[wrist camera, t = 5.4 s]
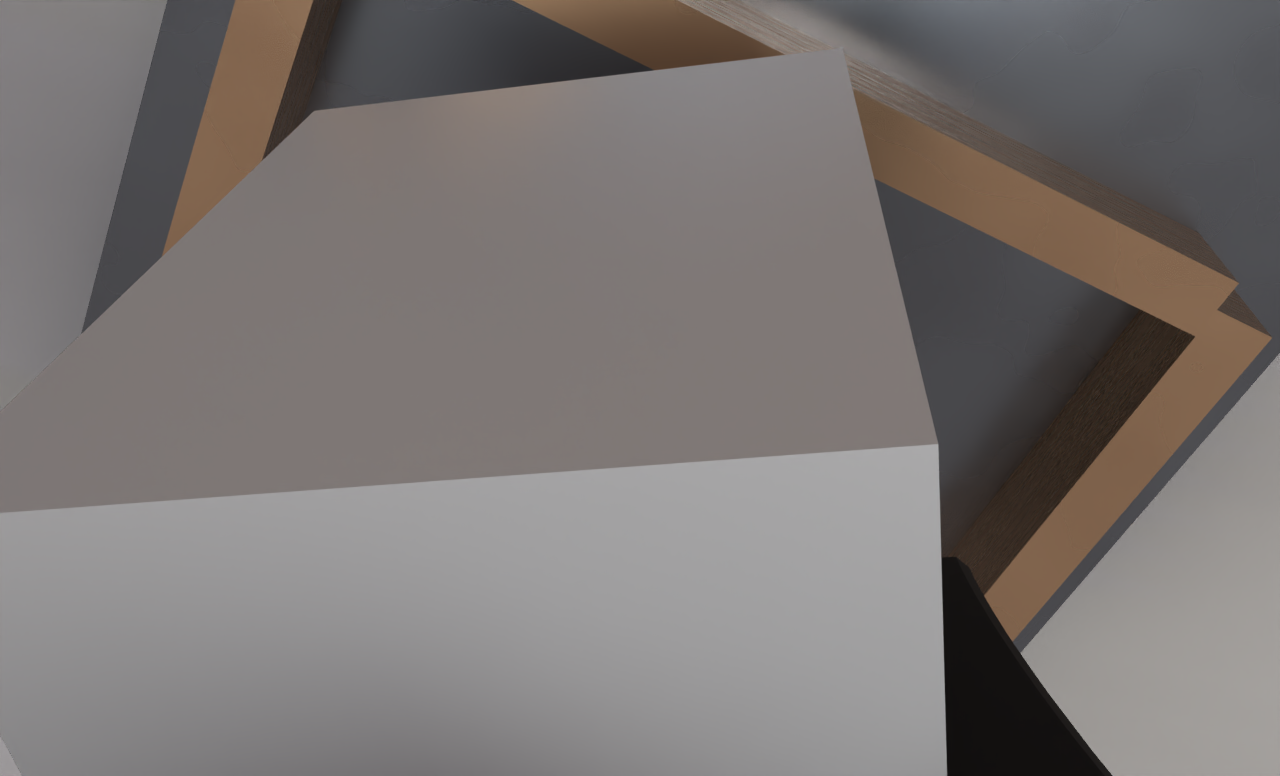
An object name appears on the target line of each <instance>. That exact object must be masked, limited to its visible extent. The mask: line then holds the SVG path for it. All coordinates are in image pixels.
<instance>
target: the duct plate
mask: <svg viewBox="0 0 1280 776" xmlns="http://www.w3.org/2000/svg"><path fill="white" fill-rule="evenodd" d="M839 48H843V52H844V56H845V60H846V64H847V68H848V73H849V77H850V81H851V85H852V89H853V93H854V97H855V102H856V106H857V110H858V114H859V118H860V122H861V126H862V130H863V135H864V139H865V143H866V147H867V151H868V155H869V159H870V164H871V168H872V172H873V176H874V180H875V184H876V188H877V193H878V197H879V201H880V205H881V209H882V213H883V217H884V222H885V226H886V230H887V234H888V238H889V242H890V246H891V250H892V255H893V259H894V263H895V267H896V271H897V275H898V279H899V284H900V288H901V292H902V296H903V300H904V304H905V308H906V313H907V317H908V321H909V325H910V329H911V333H912V337H913V341H914V346H915V350H916V354H917V358H918V362H919V366H920V370H921V375H922V379H923V383H924V387H925V391H926V395H927V399H928V404H929V408H930V412H931V416H932V420H933V424H934V428H935V433H936V437H937V441H938V452H939V490H940V528H941V557H957V558H958V559H959V560H961V561H962V562H963V563H964V564H966V565H967V566H968V567H969V568H970V570H971V572H972V574H973V576H974V578H975V580H976V582H977V584H978V586H979V587H980V589H981V591H982V593H983V595H984V596H985V598H986V600H987V602H988V603H989V605H990V607H991V608H992V610H993V612H994V613H995V615H996V617H997V618H998V620H999V621H1000V623H1001V625H1002V626H1003V628H1004V629H1005V631H1006V633H1007V634H1008V636H1009V637H1010V639H1011V640H1012V642H1013V643H1014V645H1015V646H1016V648H1017V649H1018V651H1019V652H1020V653H1021V651H1022V650H1023V649H1024V648H1025V647H1026V646H1027V644H1028V643H1029V642H1030V641H1031V640H1032V639H1033V637H1034V636H1035V635H1036V634H1037V633H1038V632H1039V631H1040V629H1041V628H1042V627H1043V626H1044V625H1045V624H1046V622H1047V621H1048V620H1049V619H1050V618H1051V617H1052V615H1053V614H1054V613H1055V612H1056V611H1057V610H1058V609H1059V607H1060V606H1061V605H1062V604H1063V603H1064V602H1065V600H1066V599H1067V598H1068V597H1069V596H1070V595H1071V594H1072V592H1073V591H1074V590H1075V589H1076V588H1077V587H1078V585H1079V584H1080V583H1081V582H1082V581H1083V580H1084V578H1085V577H1086V576H1087V575H1088V574H1089V573H1090V572H1091V570H1092V569H1093V568H1094V567H1095V566H1096V565H1097V563H1098V562H1099V561H1100V560H1101V559H1102V558H1103V557H1104V555H1105V554H1106V553H1107V552H1108V551H1109V550H1110V548H1111V547H1112V546H1113V545H1114V544H1115V543H1116V541H1117V540H1118V539H1119V538H1120V537H1121V536H1122V535H1123V533H1124V532H1125V531H1126V530H1127V529H1128V528H1129V526H1130V525H1131V524H1132V523H1133V522H1134V521H1135V520H1136V518H1137V517H1138V516H1139V515H1140V514H1141V513H1142V511H1143V510H1144V509H1145V508H1146V507H1147V506H1148V504H1149V503H1150V502H1151V501H1152V500H1153V499H1154V498H1155V496H1156V495H1157V494H1158V493H1159V492H1160V491H1161V489H1162V488H1163V487H1164V486H1165V485H1166V484H1167V483H1168V481H1169V480H1170V479H1171V478H1172V477H1173V476H1174V474H1175V473H1176V472H1177V471H1178V470H1179V469H1180V467H1181V466H1182V465H1183V464H1184V463H1185V462H1186V461H1187V459H1188V458H1189V457H1190V456H1191V455H1192V454H1193V452H1194V451H1195V450H1196V449H1197V448H1198V447H1199V445H1200V444H1201V443H1202V442H1203V441H1204V440H1205V439H1206V437H1207V436H1208V435H1209V434H1210V433H1211V432H1212V430H1213V429H1214V428H1215V427H1216V426H1217V425H1218V424H1219V422H1220V421H1221V420H1222V419H1223V418H1224V417H1225V415H1226V414H1227V413H1228V412H1229V411H1230V410H1231V408H1232V407H1233V406H1234V405H1235V404H1236V403H1237V402H1238V400H1239V399H1240V398H1241V397H1242V396H1243V395H1244V393H1245V392H1246V391H1247V390H1248V389H1249V388H1250V387H1251V385H1252V384H1253V383H1254V382H1255V381H1256V380H1257V378H1258V377H1259V376H1260V375H1261V374H1262V373H1263V371H1264V370H1265V369H1266V368H1267V367H1268V366H1269V365H1270V363H1271V362H1272V361H1273V360H1274V359H1275V358H1276V356H1277V355H1278V354H1279V353H1280V0H168V1H167V5H166V9H165V12H164V16H163V20H162V24H161V28H160V32H159V36H158V39H157V43H156V47H155V51H154V55H153V59H152V63H151V67H150V70H149V74H148V78H147V82H146V86H145V90H144V94H143V97H142V101H141V105H140V109H139V113H138V117H137V121H136V125H135V128H134V132H133V136H132V140H131V144H130V148H129V152H128V155H127V159H126V163H125V167H124V171H123V175H122V179H121V183H120V186H119V190H118V194H117V198H116V202H115V206H114V210H113V214H112V217H111V221H110V225H109V229H108V233H107V237H106V241H105V244H104V248H103V252H102V256H101V260H100V264H99V268H98V272H97V275H96V279H95V283H94V287H93V291H92V295H91V299H90V302H89V306H88V310H87V314H86V318H85V322H84V326H83V330H82V333H83V332H84V331H85V330H86V329H87V328H88V327H89V326H90V325H91V324H92V323H93V322H94V321H95V320H97V319H98V318H99V317H100V316H101V315H102V314H103V313H104V312H105V311H106V310H107V309H108V308H109V307H110V306H111V305H112V304H113V303H114V302H115V301H116V300H117V299H118V298H119V297H121V296H122V295H123V294H124V293H125V292H126V291H127V290H128V289H129V288H130V287H131V286H132V285H133V284H134V283H135V282H136V281H137V280H138V279H139V278H140V277H141V276H142V275H143V274H145V273H146V272H147V271H148V270H149V269H150V268H151V267H152V266H153V265H154V264H155V263H156V262H157V261H158V260H159V259H160V258H161V257H162V256H163V255H164V254H165V253H166V252H167V251H169V250H170V249H171V248H172V247H173V246H174V245H175V244H176V243H177V242H178V241H179V240H180V239H181V238H182V237H183V236H184V235H185V234H186V233H187V232H188V231H189V230H190V229H191V228H193V227H194V226H195V225H196V224H197V223H198V222H199V221H200V220H201V219H202V218H203V217H204V216H205V215H206V214H207V213H208V212H209V211H210V210H211V209H212V208H213V207H214V206H215V205H217V204H218V203H219V202H220V201H221V200H222V199H223V198H224V197H225V196H226V195H227V194H228V193H229V192H230V191H231V190H232V189H233V188H234V187H235V186H236V185H237V184H238V183H239V182H241V181H242V180H243V179H244V178H245V177H246V176H247V175H248V174H249V173H250V172H251V171H252V170H253V169H254V168H255V167H256V166H257V165H258V164H259V163H260V162H261V161H262V160H263V159H265V158H266V157H267V156H268V155H269V154H270V153H271V152H272V151H273V150H274V149H275V148H276V147H277V146H278V145H279V144H280V143H281V142H282V141H283V140H284V139H285V138H286V137H287V136H289V135H290V134H291V133H292V132H293V131H294V130H295V129H296V128H297V127H298V126H299V125H300V124H301V123H302V122H303V121H304V120H305V119H306V118H307V117H308V116H309V115H310V114H311V113H313V112H314V111H317V110H326V109H334V108H342V107H351V106H359V105H368V104H376V103H385V102H393V101H401V100H410V99H418V98H427V97H435V96H443V95H452V94H460V93H469V92H477V91H485V90H494V89H502V88H511V87H519V86H528V85H536V84H544V83H553V82H561V81H570V80H578V79H586V78H595V77H603V76H612V75H620V74H628V73H637V72H645V71H654V70H662V69H671V68H679V67H687V66H696V65H704V64H713V63H721V62H729V61H738V60H746V59H755V58H763V57H771V56H780V55H788V54H797V53H805V52H814V51H822V50H830V49H839ZM82 333H81V334H82Z"/></svg>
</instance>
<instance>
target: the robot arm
mask: <svg viewBox="0 0 1280 776" xmlns="http://www.w3.org/2000/svg"><path fill="white" fill-rule="evenodd" d="M941 566H942V603H943V641H944V679H945V717H946V755H947V776H1112V775H1111V773H1110V772H1109V771H1108V770H1107V768H1106V767H1105V766H1104V765H1103V764H1102V762H1101V761H1100V760H1099V759H1098V757H1097V756H1096V755H1095V754H1094V753H1093V751H1092V750H1091V749H1090V747H1089V746H1088V745H1087V743H1086V742H1085V741H1084V740H1083V738H1082V737H1081V736H1080V734H1079V733H1078V732H1077V730H1076V729H1075V728H1074V726H1073V725H1072V724H1071V722H1070V721H1069V720H1068V719H1067V717H1066V716H1065V715H1064V713H1063V712H1062V711H1061V709H1060V708H1059V707H1058V705H1057V704H1056V703H1055V702H1054V700H1053V699H1052V698H1051V696H1050V695H1049V694H1048V692H1047V691H1046V689H1045V688H1044V687H1043V685H1042V684H1041V682H1040V681H1039V680H1038V678H1037V677H1036V675H1035V674H1034V673H1033V671H1032V670H1031V668H1030V667H1029V665H1028V664H1027V662H1026V661H1025V660H1024V658H1023V657H1022V655H1021V654H1020V652H1019V651H1018V649H1017V648H1016V646H1015V645H1014V643H1013V642H1012V640H1011V639H1010V637H1009V636H1008V634H1007V633H1006V631H1005V629H1004V628H1003V626H1002V625H1001V623H1000V621H999V620H998V618H997V617H996V615H995V613H994V612H993V610H992V608H991V607H990V605H989V603H988V602H987V600H986V598H985V596H984V595H983V593H982V591H981V589H980V587H979V586H978V584H977V582H976V580H975V578H974V576H973V574H972V572H971V570H970V568H969V567H968V566H967V565H966V564H964V563H963V562H962V561H961V560H959V559H958V558H957V557H941Z"/></svg>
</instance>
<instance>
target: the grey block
mask: <svg viewBox="0 0 1280 776" xmlns="http://www.w3.org/2000/svg"><path fill="white" fill-rule="evenodd" d="M0 735H1V737H2V739H3V741H4V743H5V745H6V747H7V748H8V750H9V752H10V754H11V756H12V758H13V760H14V762H15V763H16V765H17V767H18V769H19V771H20V773H21V775H22V776H947V755H946V717H945V679H944V641H943V603H942V566H941V528H940V490H939V452H938V441H937V437H936V433H935V428H934V424H933V420H932V416H931V412H930V408H929V404H928V399H927V395H926V391H925V387H924V383H923V379H922V375H921V370H920V366H919V362H918V358H917V354H916V350H915V346H914V341H913V337H912V333H911V329H910V325H909V321H908V317H907V313H906V308H905V304H904V300H903V296H902V292H901V288H900V284H899V279H898V275H897V271H896V267H895V263H894V259H893V255H892V250H891V246H890V242H889V238H888V234H887V230H886V226H885V222H884V217H883V213H882V209H881V205H880V201H879V197H878V193H877V188H876V184H875V180H874V176H873V172H872V168H871V164H870V159H869V155H868V151H867V147H866V143H865V139H864V135H863V130H862V126H861V122H860V118H859V114H858V110H857V106H856V102H855V97H854V93H853V89H852V85H851V81H850V77H849V73H848V68H847V64H846V60H845V56H844V52H843V48H839V49H830V50H822V51H814V52H805V53H797V54H788V55H780V56H771V57H763V58H755V59H746V60H738V61H729V62H721V63H713V64H704V65H696V66H687V67H679V68H671V69H662V70H654V71H645V72H637V73H628V74H620V75H612V76H603V77H595V78H586V79H578V80H570V81H561V82H553V83H544V84H536V85H528V86H519V87H511V88H502V89H494V90H485V91H477V92H469V93H460V94H452V95H443V96H435V97H427V98H418V99H410V100H401V101H393V102H385V103H376V104H368V105H359V106H351V107H342V108H334V109H326V110H317V111H314V112H313V113H311V114H310V115H309V116H308V117H307V118H306V119H305V120H304V121H303V122H302V123H301V124H300V125H299V126H298V127H297V128H296V129H295V130H294V131H293V132H292V133H291V134H290V135H289V136H287V137H286V138H285V139H284V140H283V141H282V142H281V143H280V144H279V145H278V146H277V147H276V148H275V149H274V150H273V151H272V152H271V153H270V154H269V155H268V156H267V157H266V158H265V159H263V160H262V161H261V162H260V163H259V164H258V165H257V166H256V167H255V168H254V169H253V170H252V171H251V172H250V173H249V174H248V175H247V176H246V177H245V178H244V179H243V180H242V181H241V182H239V183H238V184H237V185H236V186H235V187H234V188H233V189H232V190H231V191H230V192H229V193H228V194H227V195H226V196H225V197H224V198H223V199H222V200H221V201H220V202H219V203H218V204H217V205H215V206H214V207H213V208H212V209H211V210H210V211H209V212H208V213H207V214H206V215H205V216H204V217H203V218H202V219H201V220H200V221H199V222H198V223H197V224H196V225H195V226H194V227H193V228H191V229H190V230H189V231H188V232H187V233H186V234H185V235H184V236H183V237H182V238H181V239H180V240H179V241H178V242H177V243H176V244H175V245H174V246H173V247H172V248H171V249H170V250H169V251H167V252H166V253H165V254H164V255H163V256H162V257H161V258H160V259H159V260H158V261H157V262H156V263H155V264H154V265H153V266H152V267H151V268H150V269H149V270H148V271H147V272H146V273H145V274H143V275H142V276H141V277H140V278H139V279H138V280H137V281H136V282H135V283H134V284H133V285H132V286H131V287H130V288H129V289H128V290H127V291H126V292H125V293H124V294H123V295H122V296H121V297H119V298H118V299H117V300H116V301H115V302H114V303H113V304H112V305H111V306H110V307H109V308H108V309H107V310H106V311H105V312H104V313H103V314H102V315H101V316H100V317H99V318H98V319H97V320H95V321H94V322H93V323H92V324H91V325H90V326H89V327H88V328H87V329H86V330H85V331H84V332H83V333H82V334H81V335H80V336H79V337H78V338H77V339H76V340H75V341H74V342H73V343H71V344H70V345H69V346H68V347H67V348H66V349H65V350H64V351H63V352H62V353H61V354H60V355H59V356H58V357H57V358H56V359H55V360H54V361H53V362H52V363H51V364H50V365H49V366H47V367H46V368H45V369H44V370H43V371H42V372H41V373H40V374H39V375H38V376H37V377H36V378H35V379H34V380H33V381H32V382H31V383H30V384H29V385H28V386H27V387H26V388H25V389H23V390H22V391H21V392H20V393H19V394H18V395H17V396H16V397H15V398H14V399H13V400H12V401H11V402H10V403H9V404H8V405H7V406H6V407H5V408H4V409H3V410H2V411H1V412H0Z"/></svg>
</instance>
